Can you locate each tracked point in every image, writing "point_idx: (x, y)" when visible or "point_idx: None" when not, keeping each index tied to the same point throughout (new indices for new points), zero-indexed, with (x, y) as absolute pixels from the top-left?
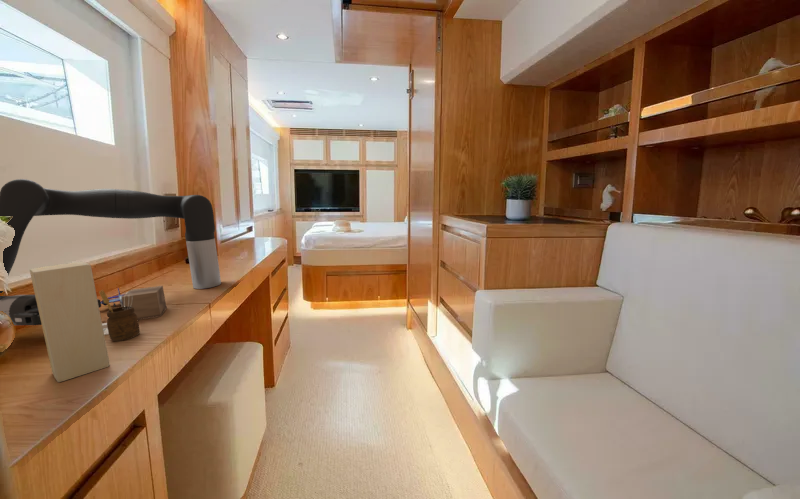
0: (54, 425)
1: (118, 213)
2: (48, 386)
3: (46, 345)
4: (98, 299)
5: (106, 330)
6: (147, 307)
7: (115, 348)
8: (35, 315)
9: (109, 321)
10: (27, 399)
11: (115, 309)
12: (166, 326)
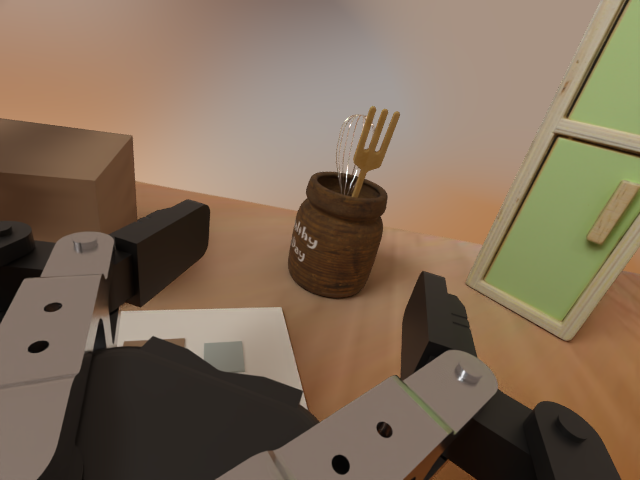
0: (634, 274)
1: None
2: (601, 322)
3: (620, 271)
4: (191, 200)
5: (233, 335)
6: (126, 211)
7: (411, 276)
8: (561, 411)
9: (381, 228)
10: None
11: (329, 196)
12: (272, 222)
